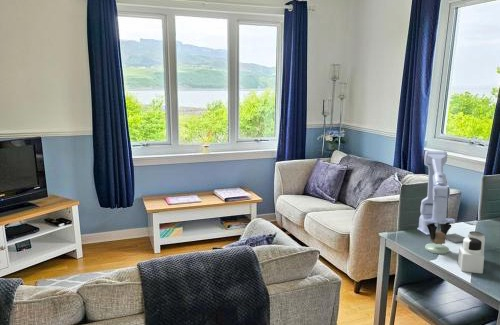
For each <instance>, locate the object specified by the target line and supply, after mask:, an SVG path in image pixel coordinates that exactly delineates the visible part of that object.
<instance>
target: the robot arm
mask: <svg viewBox="0 0 500 325" xmlns="http://www.w3.org/2000/svg"><path fill="white" fill-rule="evenodd" d="M423 160H424V163H423V164H424V166H426V167H427V168H428V173H427V174H428V177H427V193H426V194H427V195H426V197H425V198H423V199H421V202H420V203H421V204H420V209H419V210H420V216H419V218H418V227H417V230H418V231H420V232H422V234H425V235H427V236H429V235H430V237H431V239H433V240H434V239H435V232H436V231H438V226H440V231H441V232H443V233H444V234H446V235H448V232H449V230H450V229H451V228H452V224H455V223H456V219H455V218H448V217H447V214H448V213H447V212H448V211H447V210H448V199H449V198H450V196H451V195H450V194H451V187H450V185H449V184H448V182H447V181H448V180H447V175H446V174H445V173H444V172H443V171H444V170H443V169H444V168H443V167H444V166H445V164H446V163H447V161H448V152H447V151H446V150H426V151H424V158H423Z"/></svg>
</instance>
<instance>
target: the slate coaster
mask: <svg viewBox="0 0 500 325" xmlns="http://www.w3.org/2000/svg"><path fill="white" fill-rule="evenodd" d="M465 238H466V236H465V237H464V236H463V235H460V234H458V233H450V234H448V233H447V234H446V238H445V240H446V241H449V242H452V243H453V244H460V243H463V239H465Z"/></svg>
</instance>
